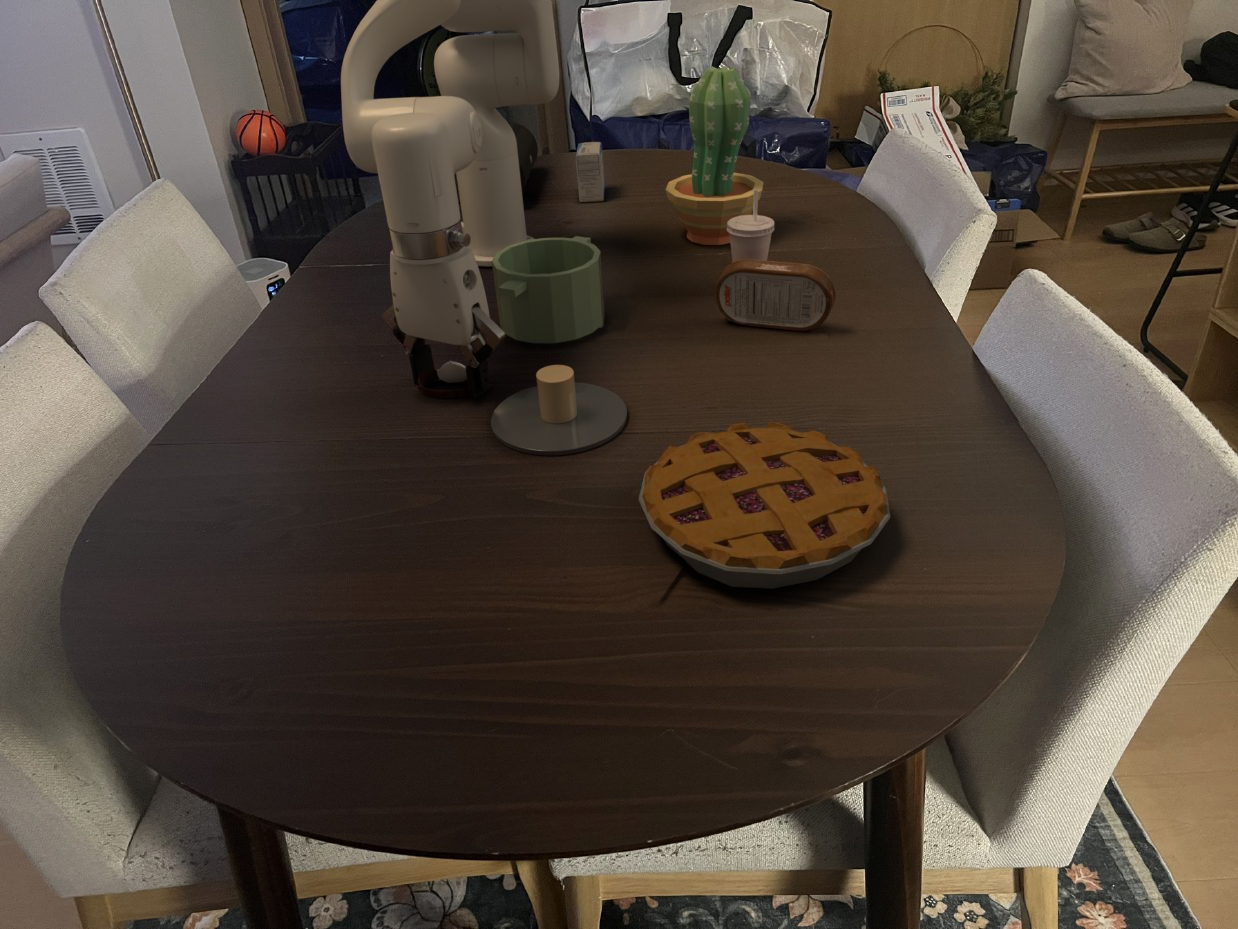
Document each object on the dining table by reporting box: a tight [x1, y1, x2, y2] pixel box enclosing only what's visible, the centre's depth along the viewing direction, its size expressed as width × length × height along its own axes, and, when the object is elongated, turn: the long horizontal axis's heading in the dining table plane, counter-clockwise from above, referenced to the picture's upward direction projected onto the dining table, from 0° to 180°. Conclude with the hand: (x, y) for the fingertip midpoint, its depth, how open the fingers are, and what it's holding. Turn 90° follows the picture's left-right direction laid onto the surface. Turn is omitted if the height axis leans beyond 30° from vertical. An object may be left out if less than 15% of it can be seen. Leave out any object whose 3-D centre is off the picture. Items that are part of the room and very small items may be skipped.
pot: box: [492, 235, 605, 344], centre depth 120 cm, size 14×19×10 cm
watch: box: [418, 360, 470, 399], centre depth 106 cm, size 8×5×4 cm, turn 91°
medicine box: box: [575, 141, 605, 203], centre depth 166 cm, size 8×4×9 cm, turn 179°
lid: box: [490, 364, 628, 457], centre depth 99 cm, size 15×15×6 cm
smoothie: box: [727, 189, 775, 263], centre depth 125 cm, size 6×6×14 cm
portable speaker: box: [507, 122, 539, 194], centre depth 171 cm, size 26×10×10 cm, turn 178°
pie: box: [638, 421, 891, 589], centre depth 83 cm, size 22×22×5 cm
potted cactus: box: [665, 65, 764, 246], centre depth 141 cm, size 15×15×25 cm
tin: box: [714, 259, 836, 332], centre depth 116 cm, size 15×3×8 cm, turn 71°
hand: (452, 385), depth 107 cm, fingers closed on watch, 7 cm apart
